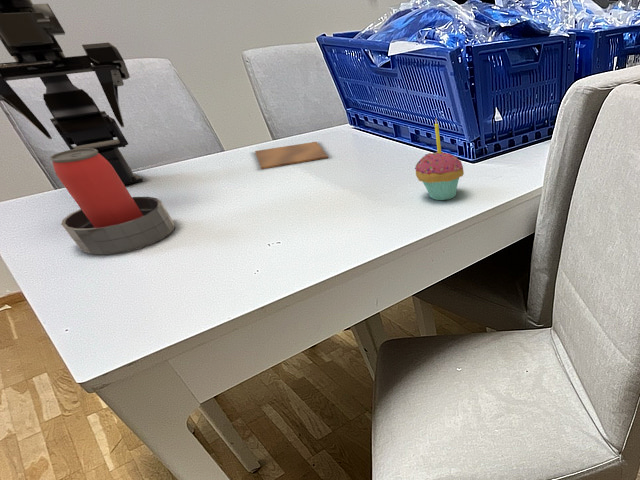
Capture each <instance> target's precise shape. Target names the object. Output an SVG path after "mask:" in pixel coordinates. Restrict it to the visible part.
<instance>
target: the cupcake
mask: <svg viewBox="0 0 640 480" xmlns="http://www.w3.org/2000/svg"><path fill="white" fill-rule="evenodd" d="M434 132H435V142H436V150H437V151H436V152H432V153H431V152H428V153H426V154H424V156H422V157H421V158H420V159H419V160H418V162H416V165H415V168H414V170H415V177H416V178H417V180H418V181H419V182H422V183H423V185H424V187H425V189H426V191H427V193H428V195H429V197H430V198H431V199H433V200H435V201H447V200H450V199H453V198H455V197H456V196H457V190H458V184H459V180H460V178H461V177H463V176H464V175H465V172H464V166H463V164H462V161H461V160H460V159H458V157H457V156H455V155H453V154H451V153H447V152H444V151H442V145H441V137H440V126H439V123H438V118H437V117H435V123H434Z"/></svg>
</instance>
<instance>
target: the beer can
mask: <svg viewBox="0 0 640 480" xmlns="http://www.w3.org/2000/svg"><path fill="white" fill-rule="evenodd" d="M49 160H50V161H51V162H52V166H53V170H54V173H55V175H56V176H57V178H58V179H59V181H60V182H61V184H62V185H63V187H64V188H65V190H66V191H67V192H68V193H69V195H70V196H71V198H72V199H73V200H74V202H75V203H76V204H77V206H78V207H79V208H80V209H81V210H82V211H83V213H84V214H85V215H86V217H87V218H88V219H89V221H90V222H91V224H92V225H93V226H94V228H98V227H106V226H110V225H115V224H120V223H123V222H127V221H130V220H134V219H136V218H139V217H141V216H143V214H142V212H141V211H140V209H139V208H138V206H137V205H136V203H135V201H134V200H133V198H132V197H133V196H132V195H131V194H130V192H129V190H128V189H127V187H126V185H124V184H123V182H122V181H121V179H120V178H119V176H118V175H117V173H116V171H115V170H114V168H113V167H112V165H111V164H110V163H109V162H108V161H107V160H106V159H105V158H104V157H103V156H102V155H100V154H99V153H98V150H96V149H94V148H81V149H73V150H70V149H68V150H64V151H60V152H57V153H54V154H52V155H50V157H49Z"/></svg>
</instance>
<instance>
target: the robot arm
mask: <svg viewBox="0 0 640 480" xmlns="http://www.w3.org/2000/svg"><path fill="white" fill-rule="evenodd" d="M65 35H66V31H65V29H64V28H63V26H62V25H61V23H60V21H59V19H58V18H57V16H56V14H55V13H54V11H53V9H52V8H51V6H50V5H49V3H33V2H32V0H0V42H1V43H2V45H3V47H4V49H6V51H7V52H8V54H9V55H10V56H11V57H13V59H14V60H15V61H11V62H10V61H9V62H2V63H0V102H4V103H6V104H7V105H8V106H10V107H11V108H12V109H13V110H15V111H16V112H18V113H19V114H20V115H22V116H23V117H24V118H25V119H26V120H27V121H29V122H30V124H32V125H33V126H34V127H35V128H36V129H37V130H38V131H39V132H41V133H42V134H43V136H45V137H46V138H47V139H48V140H52V139H53V138H52V136H51V134H50V133H49V131H48V129H47V128H46V127H45V126H44V124H43V123H42V122H41V121H40V120H39V119H38V118H37V117H36V115H35V114H34V112H33V111H32V110H31V109H30V108H29V107H28V105H27V104H26V103H25V102H24V101H23V99H22V98H21V97H20V96H19V95H18V93H17V92H16V91H15V90H14V89H13V88H12V87H11V85H10V84H9V83H8V81H17V80H28V79H37V78H39V79H40V81H41V82H42V83H43V85H44V87H45V93H42V96H43V101H44V103H45V107H46V108H47V110H48V111H49V113H50V114H51V116H52V117H53V118H49V120H50V122H51V124H52V125H53V127H54V128H55V130H56V131H57V133H58V134H59V135H60V137H61V138H62V140H63V141H64V143H65V145H66V146H67V147H68V149H69V150H73V149H81V148H94V149H96V150H98V153H99V154H100V155H102V156H103V157H104V158H105V159H106V160H107V161H108V162H109V163H110V164H111V165H112V167H113V168H114V170H115V171H116V173H117V175H118V176H119V178H120V179H121V181H122V182H123V184H124V186H126V185H130V184H135V183H138V182H142V181H143V178H142V177H141V176H139V175H138V174H136V173H134V172H133V170H132V169H131V166H130V164H128V162H127V161H126V159H125V156H123V153H121V150H120V148H126V147H127V146H128V145H129V142H128V141H127V139H126V137H125V136H124V134H123V132H122V130H121V128H125V123H124V119H123V115H122V111H121V107H120V103H119V101H120V100H119V89H118V88H119V87H122V86H124V85H125V83H124V81H125V80H129V78H131V76H130V74H129V70H128V68H127V65H126V62H125V60H124V58H123V57H122V55H121V53H120V51H119V50H118V48H117V46H115V45H114V44H112V43H110V42H99V43H86V44H85V43H84V44H81V46H82V49H83V50H84V53H85V54H83V55H73V56H66V54H65V53H64V51H63V48H62V47H61V45H60V44H59V42H58V40H57V39H56V36H65ZM92 72H94V74H95V75H96V78H97V80H98V82H99V84H100V86H101V89H102V91H103V93H104V95H105V98H106V100H107V102H108V104H109V107H110V108H111V111H112V113H113V115H114V117H115V119H116V120H115V119H114V118H113V117H111V116H109V114H107V112H106V110H100V108H99V107H98V106H97V104H96V102H95V101H94V99H93V98H92V96H90V95H89V93H88V92H86V90H84V89H83V88H79V87H78V86H76V85H74V84H73V82H72V80H71V79H70V78H69V76H68V75H73V74H82V73H83V74H84V73H92ZM118 124H119V125H118ZM119 126H120V127H121V128H120V127H119ZM114 138H116V139H114ZM74 145H75V146H74Z"/></svg>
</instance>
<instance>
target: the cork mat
mask: <svg viewBox="0 0 640 480" xmlns="http://www.w3.org/2000/svg"><path fill="white" fill-rule="evenodd" d="M254 152H255V155H256V158H257V160H258V163H259V166H260V169H261V170H265V169H270V168H271V169H272V168H276V167H277V168H278V167H282V166H289V165H295V164H302V163H305V162H306V163H307V162H313V161H319V160H324V159H328V158H329V156H328V155H327V154H326V152H325V151H324V150H323V148H322V147H321V146H320V144H319V143H318V141H312V142H305V143H299V144H292V145H291V144H290V145H285V146H279V147H273V148H266V149H260V150H259V149H258V150H255V151H254Z"/></svg>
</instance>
